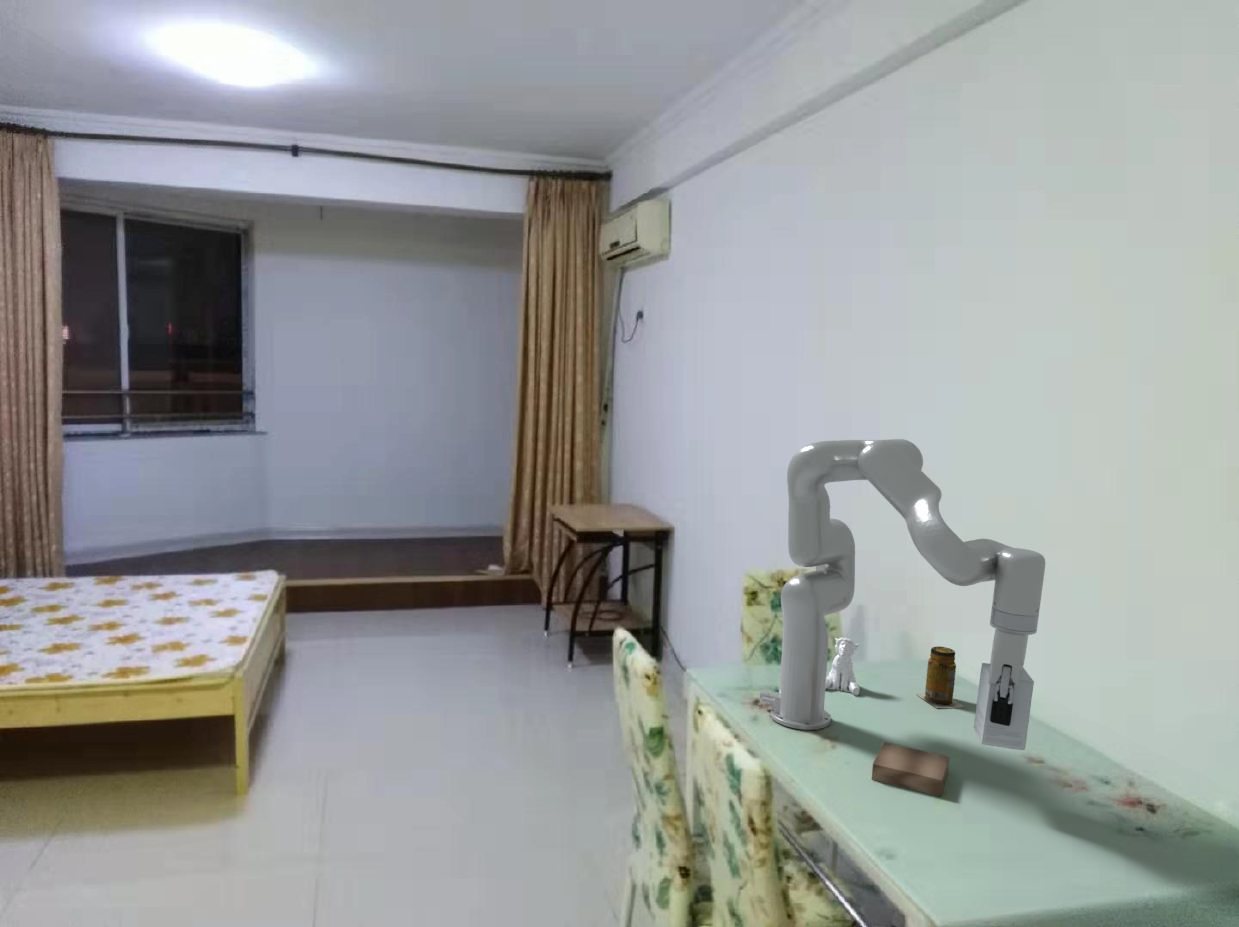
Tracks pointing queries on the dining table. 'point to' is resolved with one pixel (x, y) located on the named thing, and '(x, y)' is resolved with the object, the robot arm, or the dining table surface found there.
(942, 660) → the condiment
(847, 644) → the sitting furry creature
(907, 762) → the walnut base
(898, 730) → the dining table surface
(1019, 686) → the supplement box
